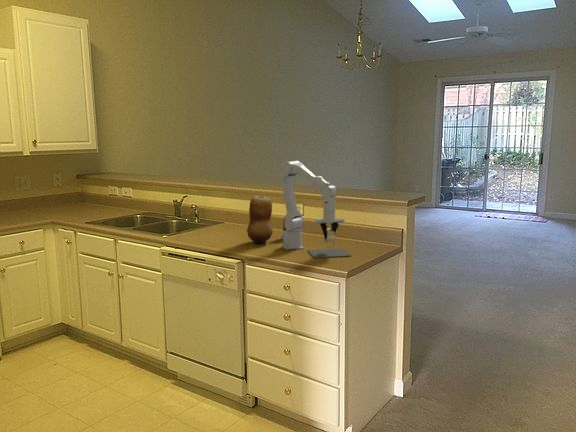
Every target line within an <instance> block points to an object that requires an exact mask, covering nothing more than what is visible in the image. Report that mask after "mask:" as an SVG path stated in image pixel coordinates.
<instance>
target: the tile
mask: <svg viewBox="0 0 576 432" xmlns="http://www.w3.org/2000/svg"><path fill="white" fill-rule="evenodd" d="M335 236H336V232H334V231H333V230H332V228H330V227H327V239H325V238H324V237H323V240H324V242H325V243H326V244H327V245H330V246H331V245H335V242H336V239H335V238H336V237H335Z"/></svg>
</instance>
